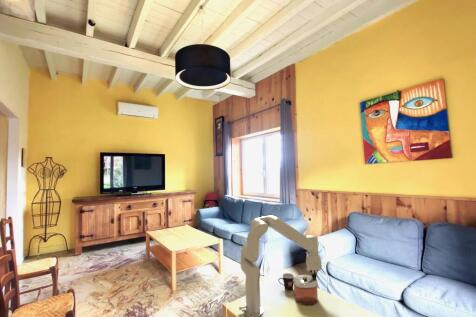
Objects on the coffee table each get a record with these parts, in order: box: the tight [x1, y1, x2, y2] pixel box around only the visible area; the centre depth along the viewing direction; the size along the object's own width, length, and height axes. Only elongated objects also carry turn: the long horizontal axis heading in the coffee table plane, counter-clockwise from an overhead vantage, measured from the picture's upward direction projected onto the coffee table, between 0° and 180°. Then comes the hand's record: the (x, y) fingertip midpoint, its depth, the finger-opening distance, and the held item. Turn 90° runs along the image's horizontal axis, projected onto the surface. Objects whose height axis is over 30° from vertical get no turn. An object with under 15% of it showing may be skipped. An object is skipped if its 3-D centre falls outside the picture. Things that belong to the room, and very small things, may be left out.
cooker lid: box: [293, 274, 319, 288], centre depth 171 cm, size 17×17×3 cm
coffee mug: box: [278, 272, 295, 292], centre depth 186 cm, size 12×9×10 cm
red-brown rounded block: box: [293, 284, 319, 306], centre depth 170 cm, size 16×16×11 cm
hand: (314, 278), depth 172 cm, fingers closed
